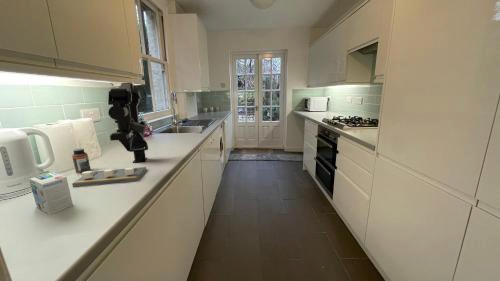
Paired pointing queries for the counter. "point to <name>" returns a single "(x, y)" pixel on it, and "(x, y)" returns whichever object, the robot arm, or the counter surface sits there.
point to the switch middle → (108, 173)
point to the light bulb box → (51, 192)
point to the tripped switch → (129, 171)
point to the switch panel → (116, 178)
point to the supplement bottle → (80, 160)
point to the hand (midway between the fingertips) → (129, 151)
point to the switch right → (87, 174)
